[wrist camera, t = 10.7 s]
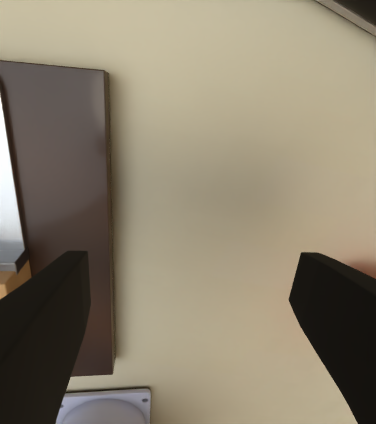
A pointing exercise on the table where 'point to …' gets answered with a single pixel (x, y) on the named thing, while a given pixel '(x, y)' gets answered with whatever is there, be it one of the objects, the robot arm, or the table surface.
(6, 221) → the knife
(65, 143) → the board
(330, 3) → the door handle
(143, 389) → the robot arm
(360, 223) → the table surface
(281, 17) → the table surface
